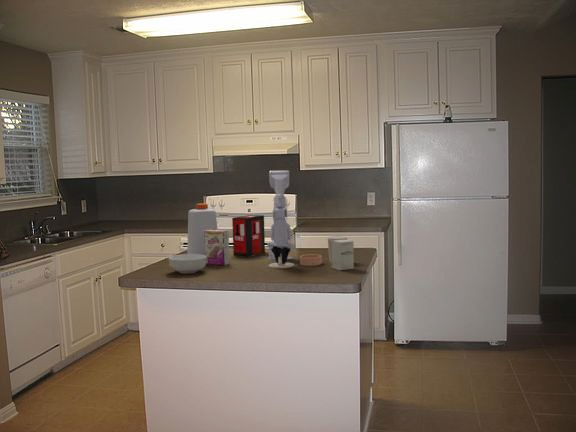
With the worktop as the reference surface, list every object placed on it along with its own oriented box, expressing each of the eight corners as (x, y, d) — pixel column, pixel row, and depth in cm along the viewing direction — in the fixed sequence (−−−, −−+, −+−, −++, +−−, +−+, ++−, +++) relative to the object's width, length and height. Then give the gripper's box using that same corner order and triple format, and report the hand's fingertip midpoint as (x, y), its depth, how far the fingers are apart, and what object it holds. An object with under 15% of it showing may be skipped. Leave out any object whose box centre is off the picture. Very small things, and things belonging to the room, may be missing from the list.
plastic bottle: (213, 255, 304) (211, 202, 301) (222, 259, 290) (220, 204, 287) (185, 257, 297) (183, 203, 295) (193, 262, 284) (191, 205, 281)
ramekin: (295, 265, 268) (295, 256, 268) (308, 262, 276) (307, 253, 276) (313, 267, 262) (313, 258, 262) (325, 263, 270) (325, 255, 270)
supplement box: (340, 270, 252) (339, 242, 251) (331, 268, 259) (330, 240, 258) (354, 268, 256) (353, 240, 255) (345, 266, 262) (344, 239, 261)
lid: (263, 266, 264) (263, 257, 264) (278, 262, 273) (278, 254, 273) (283, 268, 257) (283, 259, 257) (298, 264, 267) (298, 255, 266)
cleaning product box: (247, 257, 295) (246, 218, 293) (233, 256, 299) (232, 217, 297) (265, 252, 309) (263, 215, 307) (251, 251, 314) (250, 215, 312)
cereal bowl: (189, 277, 246) (188, 260, 246) (161, 274, 255) (160, 258, 254) (214, 270, 261) (214, 254, 260) (187, 267, 269) (186, 252, 269)
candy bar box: (204, 264, 276) (203, 230, 274) (210, 262, 280) (209, 229, 279) (224, 265, 271) (223, 231, 270) (230, 264, 276) (228, 230, 274)
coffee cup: (346, 264, 267) (346, 238, 266) (326, 264, 269) (326, 238, 268) (348, 260, 277) (348, 236, 275) (329, 260, 278) (328, 236, 277)
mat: (263, 267, 264) (263, 266, 264) (278, 263, 274) (278, 262, 274) (283, 270, 257) (283, 269, 257) (299, 265, 267) (299, 264, 267)
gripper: (262, 234, 265) (263, 263, 266) (288, 235, 257) (288, 265, 258) (272, 232, 271) (272, 260, 272) (297, 234, 262) (297, 263, 263)
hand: (281, 263), depth 265 cm, fingers closed on lid, 3 cm apart
